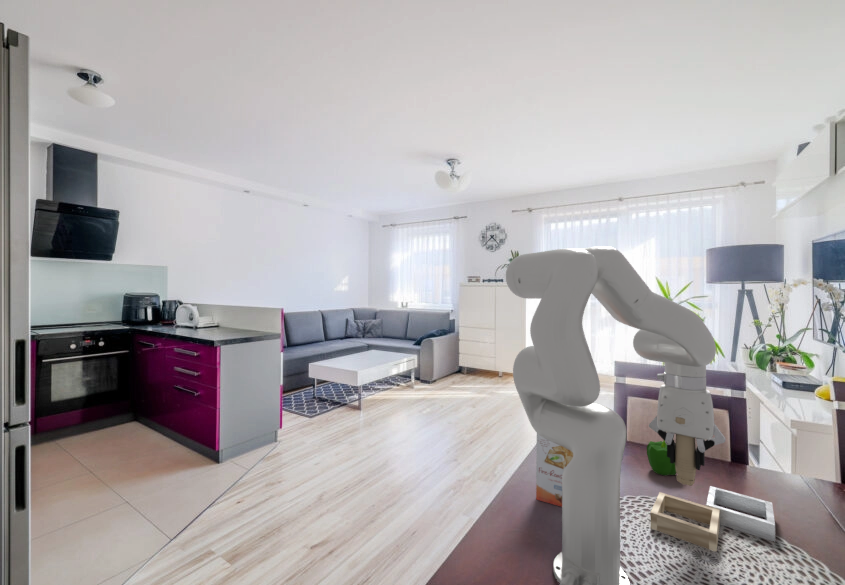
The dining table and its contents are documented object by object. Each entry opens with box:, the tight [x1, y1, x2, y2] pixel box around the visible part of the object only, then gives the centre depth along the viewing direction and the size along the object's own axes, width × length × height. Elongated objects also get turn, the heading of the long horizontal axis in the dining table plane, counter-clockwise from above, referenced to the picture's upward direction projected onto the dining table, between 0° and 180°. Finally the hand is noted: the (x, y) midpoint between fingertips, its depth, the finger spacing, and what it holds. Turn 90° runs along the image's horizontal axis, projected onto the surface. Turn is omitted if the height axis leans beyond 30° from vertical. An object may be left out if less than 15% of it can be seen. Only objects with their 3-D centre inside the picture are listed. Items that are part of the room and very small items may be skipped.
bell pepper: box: [646, 440, 677, 477], centre depth 108 cm, size 8×8×10 cm
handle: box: [675, 417, 697, 487], centre depth 82 cm, size 5×6×15 cm
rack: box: [650, 491, 721, 553], centre depth 82 cm, size 11×11×4 cm
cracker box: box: [535, 433, 573, 508], centre depth 91 cm, size 14×6×21 cm, turn 60°
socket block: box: [705, 485, 776, 543], centre depth 85 cm, size 11×11×4 cm
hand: (685, 463), depth 82 cm, fingers closed on handle, 4 cm apart
